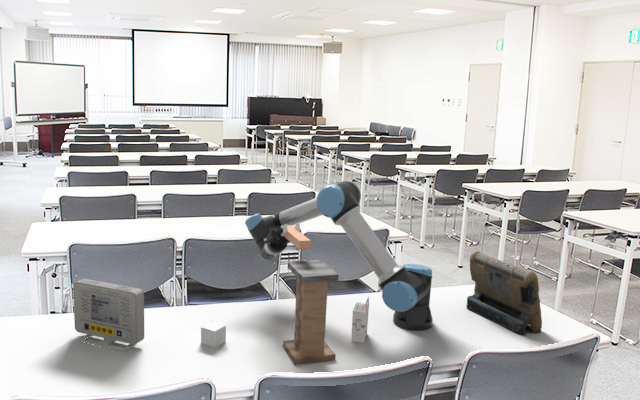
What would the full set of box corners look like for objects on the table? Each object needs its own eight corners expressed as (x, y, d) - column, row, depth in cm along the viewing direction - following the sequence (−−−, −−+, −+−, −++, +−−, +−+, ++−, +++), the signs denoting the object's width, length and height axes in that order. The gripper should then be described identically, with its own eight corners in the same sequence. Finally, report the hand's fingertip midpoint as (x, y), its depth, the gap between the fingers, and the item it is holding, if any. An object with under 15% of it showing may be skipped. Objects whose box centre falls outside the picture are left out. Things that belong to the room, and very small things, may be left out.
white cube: (214, 347, 192) (214, 331, 191) (200, 343, 195) (201, 327, 194) (225, 341, 197) (226, 325, 196) (212, 337, 200) (212, 321, 199)
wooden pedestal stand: (282, 345, 196) (285, 262, 191) (319, 340, 201) (324, 259, 196) (295, 366, 182) (299, 277, 176) (336, 361, 187) (341, 274, 181)
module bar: (280, 233, 211) (280, 225, 210) (290, 233, 212) (291, 225, 211) (299, 249, 190) (299, 241, 190) (310, 249, 192) (310, 240, 191)
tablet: (547, 330, 220) (555, 269, 215) (525, 338, 212) (533, 274, 207) (480, 303, 246) (486, 247, 241) (458, 308, 238) (464, 251, 234)
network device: (148, 343, 193) (148, 287, 189) (132, 354, 185) (131, 295, 181) (87, 329, 201) (85, 276, 197) (69, 339, 193) (66, 283, 189)
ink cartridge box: (353, 332, 210) (356, 294, 207) (367, 333, 209) (369, 295, 206) (350, 341, 202) (352, 302, 199) (364, 343, 201) (366, 304, 198)
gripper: (297, 252, 226) (316, 236, 205) (255, 254, 220) (270, 238, 199) (295, 233, 228) (313, 216, 207) (253, 235, 222) (268, 218, 201)
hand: (292, 227), depth 203 cm, fingers closed on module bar, 4 cm apart
